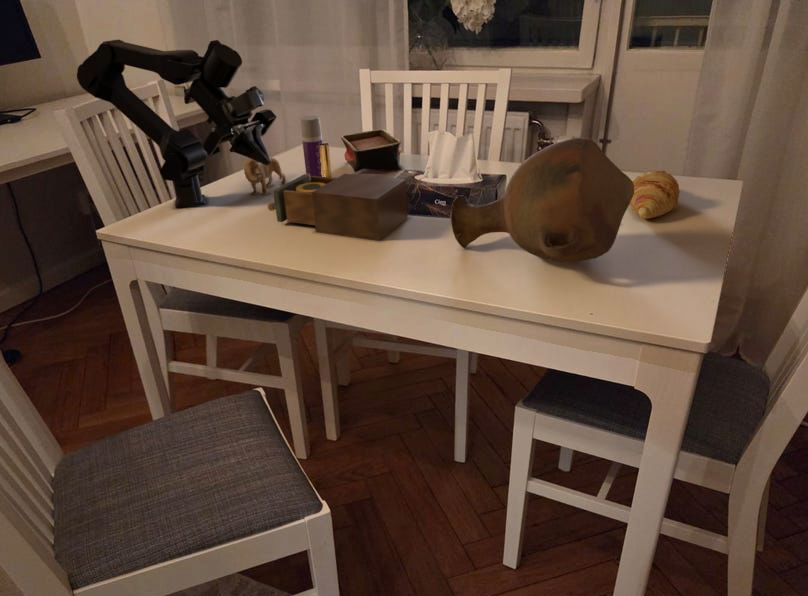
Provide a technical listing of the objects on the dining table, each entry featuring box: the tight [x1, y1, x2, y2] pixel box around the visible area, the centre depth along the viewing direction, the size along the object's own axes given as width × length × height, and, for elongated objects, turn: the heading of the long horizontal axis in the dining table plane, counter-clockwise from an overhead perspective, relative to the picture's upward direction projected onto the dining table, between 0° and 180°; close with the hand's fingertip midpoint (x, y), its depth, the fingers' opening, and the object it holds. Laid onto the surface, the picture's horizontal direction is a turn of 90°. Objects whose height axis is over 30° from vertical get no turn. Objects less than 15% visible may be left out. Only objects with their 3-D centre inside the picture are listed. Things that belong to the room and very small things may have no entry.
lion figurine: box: [243, 157, 287, 196], centre depth 147 cm, size 15×5×9 cm, turn 162°
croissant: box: [629, 170, 680, 220], centre depth 126 cm, size 21×10×8 cm, turn 156°
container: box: [300, 115, 324, 183], centre depth 149 cm, size 5×5×15 cm
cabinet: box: [312, 173, 408, 241], centre depth 124 cm, size 14×13×8 cm
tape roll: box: [296, 182, 325, 193], centre depth 129 cm, size 6×6×5 cm
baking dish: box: [340, 128, 402, 173], centre depth 161 cm, size 14×18×10 cm
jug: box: [449, 137, 634, 263], centre depth 105 cm, size 20×20×30 cm
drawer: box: [267, 173, 337, 226], centre depth 129 cm, size 17×12×6 cm
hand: (269, 163), depth 129 cm, fingers closed
